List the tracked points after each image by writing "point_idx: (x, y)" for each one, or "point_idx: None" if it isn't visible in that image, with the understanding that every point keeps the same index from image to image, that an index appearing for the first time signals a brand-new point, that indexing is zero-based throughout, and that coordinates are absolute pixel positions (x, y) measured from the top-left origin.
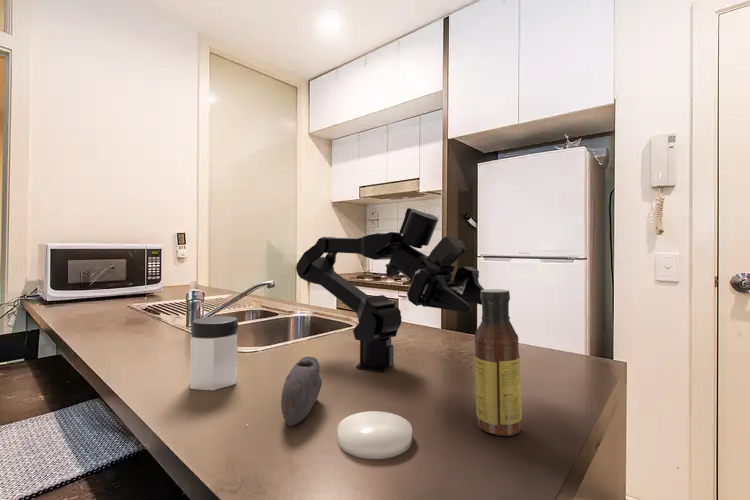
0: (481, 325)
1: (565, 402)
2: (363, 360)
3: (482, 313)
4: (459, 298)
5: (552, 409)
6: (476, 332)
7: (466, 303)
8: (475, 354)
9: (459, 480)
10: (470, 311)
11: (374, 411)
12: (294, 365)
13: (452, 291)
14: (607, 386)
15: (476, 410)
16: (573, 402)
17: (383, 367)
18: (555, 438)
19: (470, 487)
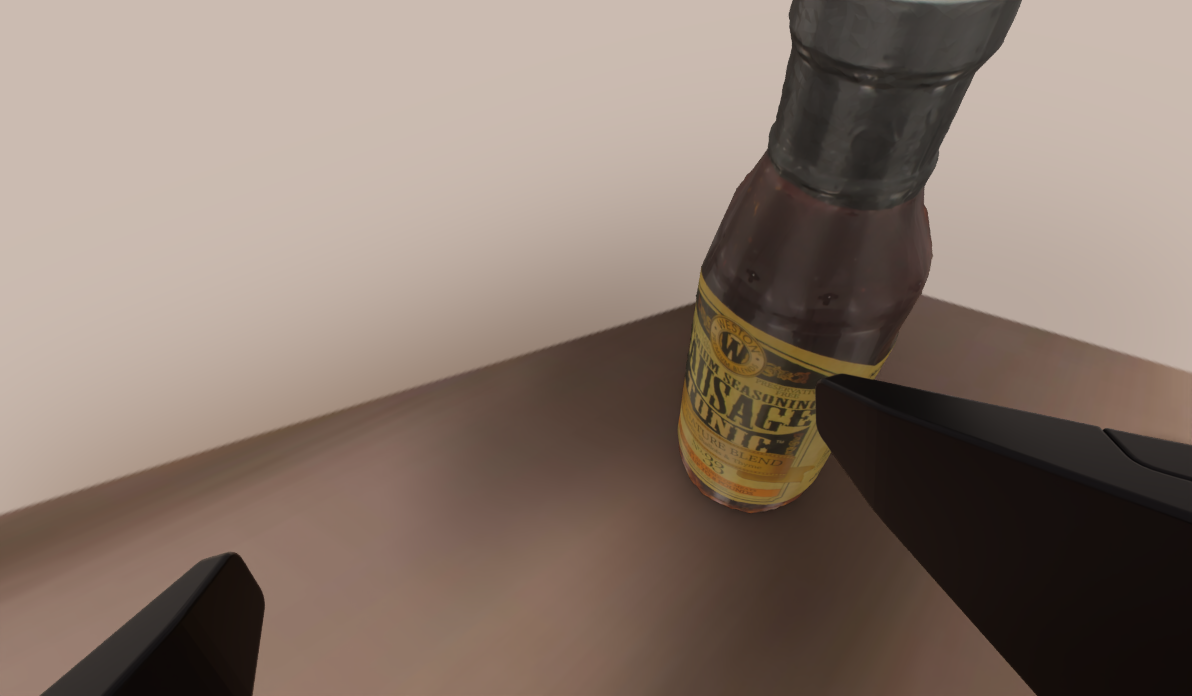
0: (918, 212)
1: (375, 480)
2: None
3: (938, 147)
4: (985, 411)
5: (472, 466)
6: (924, 264)
7: (880, 390)
8: (891, 343)
9: (989, 343)
10: (818, 412)
11: None
12: None
13: (1138, 479)
14: (82, 498)
15: (820, 470)
16: (354, 468)
17: None
18: (642, 361)
19: (973, 322)
